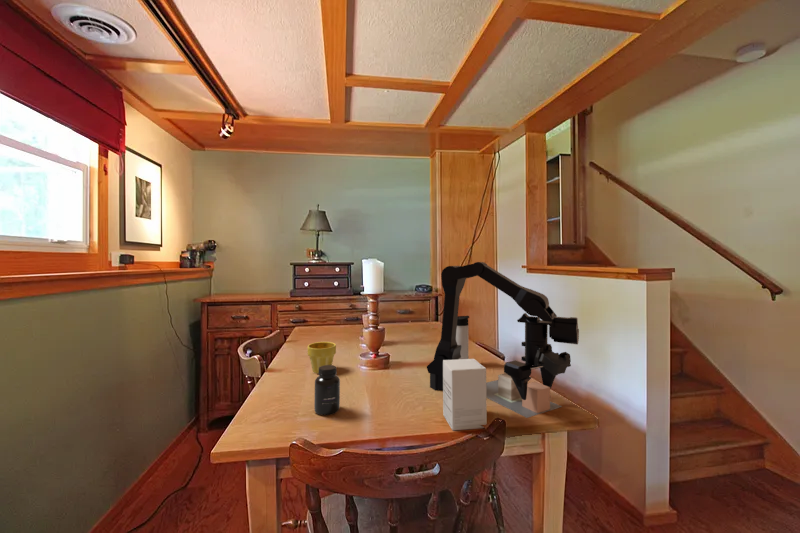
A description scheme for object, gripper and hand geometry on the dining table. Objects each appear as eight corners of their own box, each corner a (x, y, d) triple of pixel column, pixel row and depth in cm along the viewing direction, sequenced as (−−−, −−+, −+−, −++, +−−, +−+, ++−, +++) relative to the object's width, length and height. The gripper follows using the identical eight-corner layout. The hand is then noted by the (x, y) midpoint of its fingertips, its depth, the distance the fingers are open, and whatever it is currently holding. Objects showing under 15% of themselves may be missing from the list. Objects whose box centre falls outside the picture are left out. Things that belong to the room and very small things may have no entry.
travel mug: (470, 370, 128) (470, 317, 127) (453, 370, 128) (453, 317, 127) (467, 365, 134) (467, 314, 134) (450, 365, 134) (451, 314, 134)
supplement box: (474, 412, 92) (474, 357, 92) (487, 428, 83) (487, 368, 83) (442, 414, 91) (442, 359, 91) (451, 431, 82) (451, 369, 82)
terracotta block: (537, 413, 89) (537, 390, 89) (522, 406, 94) (522, 384, 94) (549, 409, 92) (550, 387, 92) (534, 402, 96) (534, 381, 96)
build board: (526, 421, 87) (526, 417, 87) (466, 390, 108) (466, 386, 108) (562, 410, 94) (562, 406, 94) (498, 382, 115) (498, 379, 115)
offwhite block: (511, 400, 97) (511, 379, 97) (498, 394, 102) (498, 374, 102) (523, 397, 100) (523, 376, 100) (510, 391, 104) (510, 372, 104)
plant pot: (332, 375, 122) (332, 348, 122) (304, 375, 122) (304, 348, 122) (338, 366, 132) (338, 341, 132) (311, 366, 132) (311, 341, 132)
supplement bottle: (327, 418, 89) (327, 372, 89) (309, 412, 92) (308, 368, 92) (345, 408, 95) (344, 365, 94) (327, 403, 98) (326, 362, 98)
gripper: (537, 350, 81) (536, 415, 81) (585, 341, 90) (584, 400, 90) (502, 341, 91) (502, 398, 91) (549, 333, 100) (548, 386, 100)
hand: (535, 396), depth 93 cm, fingers open, 9 cm apart
